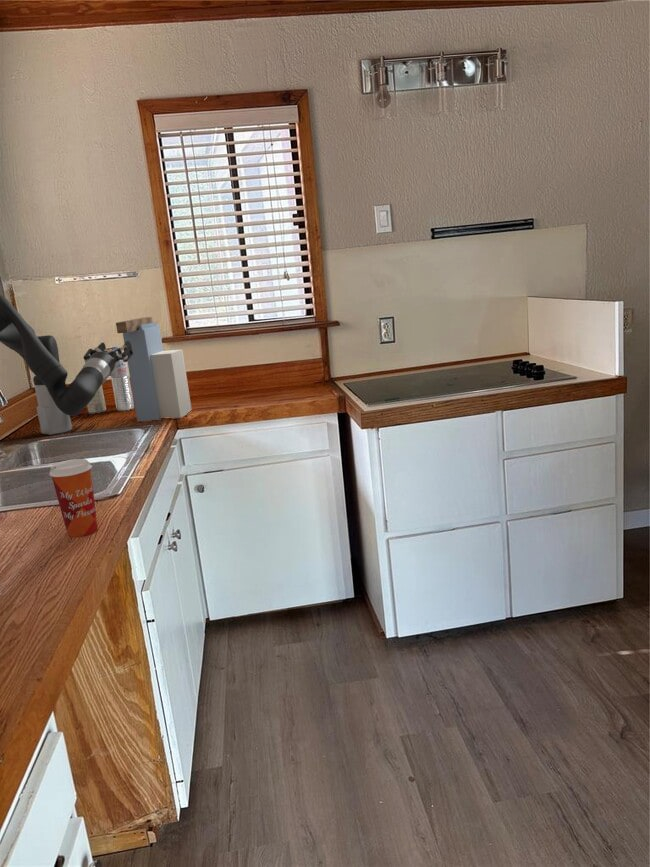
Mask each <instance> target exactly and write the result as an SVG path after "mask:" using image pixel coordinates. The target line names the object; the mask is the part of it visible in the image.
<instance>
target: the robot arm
mask: <svg viewBox="0 0 650 867" xmlns="http://www.w3.org/2000/svg"><path fill="white" fill-rule="evenodd" d="M0 343H1V344H2V345H3V346H6V347H7V348H8V349H10V350H13V352H15V353H17V354H18V355H19V356H20V357H21V358H22V359H23V360H24V361H25V363H26V365H27V367H28V368H29V370H30V371H31V372H32V373H33V374H34V376H33V379H32V381H33V385H34V389H35V394H36V400H37V404H38V406H36V413H37V417H38V422H39V427H40V431H41V434H44V435H56V434H60V433H61V434H63V433H67V432H69V431H71V430H73V425H72V420H71V417H75V416H78V415H79V414H81V413H82V411H83V410H84V409H85V408H86V407H87V404H88V403H89V402H90V401H91V400H92V399H93V397H94V396H95V394H96V392H97V390H98V389H99V387H100V386H101V385H102V386H103V384H104V383H105V382H106V380H107V379H108V378H109V377H110V376H111V372H112V371H113V370H114V367H115V363H116V362H118V361H119V360H123V361H124V362H126V363H128V362H127V361H128V360H129V359H130V357H131V356H132V355H133V354H134V353H133V351H132V346H131V343H130V342H129V341H126V343H125V344H124V343H123V346H121V347H118V346H117V348H115V349H113V348H112V349H111V350H106V348H107V347H106V344H105V342H101V343H100V344H99V345H98V346H97V347H94V349H93V348H89V349H88V350H87V351H86V352H85V353H84V355H83V360H84V365H83V366H82V368H81V369H80V371H79V372H78V374H76V376H75V378H74V379H73V380H72V382H71V383H70V384H69V385H68V386H67V384H66V383H67V382H66V381H67V378H68V371H67V370H66V369H65V367H64V366H63V365H62V364H61V361H60V353H59V349H58V348H59V347H58V344H57V340H56V337H54V336H53V335H49V334H48V335H40V336H37V335H36V332H35V330H34V329H33V327H32V326H31V325H30V324H28V323H27V321H26V320H25V319H24V318H23V316H22V315H21V313H20V312H19V311H18V310H17V309H16V308H15V306H14V305H13V304H12V303H11V302H10V301H9V300H8V299H7V298H6V297H5V296H4V295H2V294H1V293H0ZM116 351H118V354H119V356H118V354H117V353H116Z"/></svg>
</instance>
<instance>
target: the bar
mask: <svg viewBox="0 0 650 867" xmlns="http://www.w3.org/2000/svg"><path fill="white" fill-rule="evenodd" d="M153 322H154V321H153V316H149V317H148V316H147V317H139V318H134V319H130V320H123V321H118V322H115V326H116V333H117V334H123V333H128V332H132V331H136V330H139V325H144V324H149V323H153Z"/></svg>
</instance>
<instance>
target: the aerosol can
mask: <svg viewBox="0 0 650 867" xmlns="http://www.w3.org/2000/svg"><path fill="white" fill-rule="evenodd" d="M86 407H87V412H88V414H89V415H96V414H95V413H98V414H102V413H101V412H103V413H106V412H107V411H106V410H107V406H106V400H105V396H104V389H103V384H102V385H101V386H100V387H99V389H98V390H97V392H96V394H95V396H94V397H93V399H92V400H91V401H90V402H89V403H88V404H87V406H86ZM105 411H106V412H105Z"/></svg>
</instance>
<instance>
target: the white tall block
mask: <svg viewBox="0 0 650 867" xmlns="http://www.w3.org/2000/svg"><path fill="white" fill-rule="evenodd" d="M184 357H185V356H184V351H183V348H182V349H171V350H163V351H162V352H158V353H155V354H152V355H151V360H152V366H153V373H154V379H155V385H156V391H157V397H158V404H159V410H160V416H161V418H165V417H174V418H173V419H181V418H183V417H185V416H186V415H188V414H189V413H188V412H190V411H191V410H192V409H193V408H192V404H191V403H192V402H191V398H190V391H189V385H188V384H189V383H188V378H187V370H186V363H185V358H184ZM192 411H193V410H192ZM192 411H191V412H192ZM191 412H190V413H191ZM187 413H188V414H187Z"/></svg>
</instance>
